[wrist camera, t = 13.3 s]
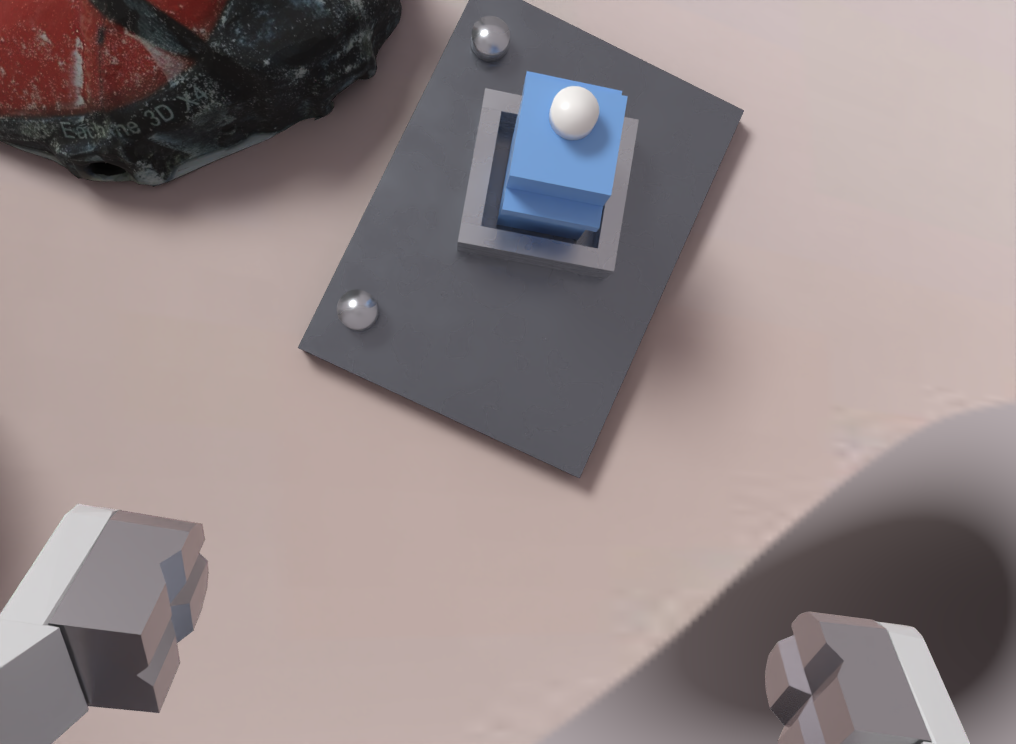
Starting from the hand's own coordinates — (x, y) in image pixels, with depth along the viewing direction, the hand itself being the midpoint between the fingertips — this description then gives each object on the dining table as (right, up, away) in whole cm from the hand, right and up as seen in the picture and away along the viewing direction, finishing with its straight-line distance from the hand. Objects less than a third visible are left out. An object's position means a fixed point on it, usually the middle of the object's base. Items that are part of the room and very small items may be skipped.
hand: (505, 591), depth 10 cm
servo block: (+2, +13, +29) cm, 32 cm away
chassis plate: (+1, +11, +30) cm, 32 cm away
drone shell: (-17, +22, +30) cm, 40 cm away
